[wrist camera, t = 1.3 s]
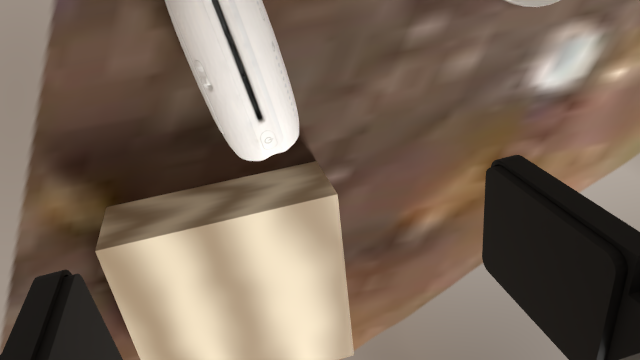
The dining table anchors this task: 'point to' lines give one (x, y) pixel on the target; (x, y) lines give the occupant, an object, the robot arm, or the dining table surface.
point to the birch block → (232, 270)
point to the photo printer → (239, 73)
